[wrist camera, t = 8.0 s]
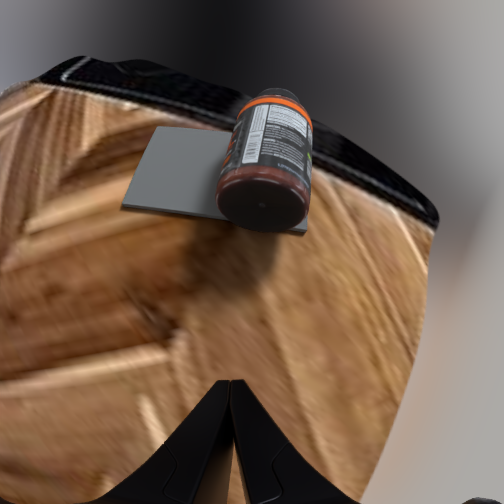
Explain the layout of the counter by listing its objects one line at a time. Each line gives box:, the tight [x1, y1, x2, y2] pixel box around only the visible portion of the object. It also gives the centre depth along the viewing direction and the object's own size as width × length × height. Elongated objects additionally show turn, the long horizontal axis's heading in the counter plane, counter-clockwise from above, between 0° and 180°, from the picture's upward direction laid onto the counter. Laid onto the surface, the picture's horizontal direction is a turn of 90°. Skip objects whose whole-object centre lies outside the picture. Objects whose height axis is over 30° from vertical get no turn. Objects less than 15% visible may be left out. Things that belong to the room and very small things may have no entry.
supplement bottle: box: [215, 88, 312, 232], centre depth 20 cm, size 6×6×11 cm
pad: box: [122, 126, 307, 233], centre depth 23 cm, size 9×14×1 cm, turn 83°
